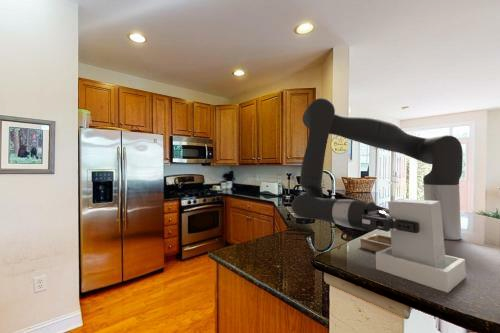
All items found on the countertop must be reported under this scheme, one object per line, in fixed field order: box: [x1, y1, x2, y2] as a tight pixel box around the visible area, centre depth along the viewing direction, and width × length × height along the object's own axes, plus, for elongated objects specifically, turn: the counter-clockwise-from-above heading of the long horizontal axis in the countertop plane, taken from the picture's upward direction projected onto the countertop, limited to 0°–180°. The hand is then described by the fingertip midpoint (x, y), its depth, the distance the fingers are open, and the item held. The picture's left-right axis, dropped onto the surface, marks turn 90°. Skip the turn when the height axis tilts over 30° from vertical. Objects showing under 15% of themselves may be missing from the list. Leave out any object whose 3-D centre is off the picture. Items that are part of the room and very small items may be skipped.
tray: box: [375, 246, 467, 294], centre depth 49 cm, size 11×13×4 cm
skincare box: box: [387, 198, 446, 270], centre depth 50 cm, size 8×6×15 cm
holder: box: [359, 233, 392, 253], centre depth 64 cm, size 9×11×2 cm
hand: (427, 224), depth 48 cm, fingers open, 8 cm apart
